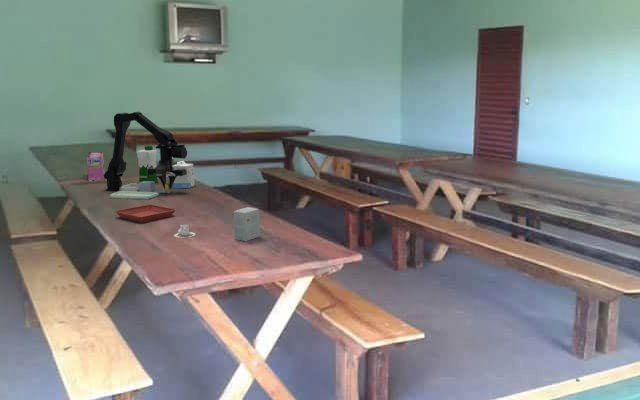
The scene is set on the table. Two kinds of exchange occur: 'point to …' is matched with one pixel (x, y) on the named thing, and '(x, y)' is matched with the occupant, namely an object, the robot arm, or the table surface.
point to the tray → (134, 195)
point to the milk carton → (147, 164)
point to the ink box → (184, 176)
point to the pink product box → (95, 166)
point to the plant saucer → (145, 213)
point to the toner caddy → (152, 187)
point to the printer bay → (130, 187)
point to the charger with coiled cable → (184, 231)
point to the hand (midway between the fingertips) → (167, 188)
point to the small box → (246, 224)
